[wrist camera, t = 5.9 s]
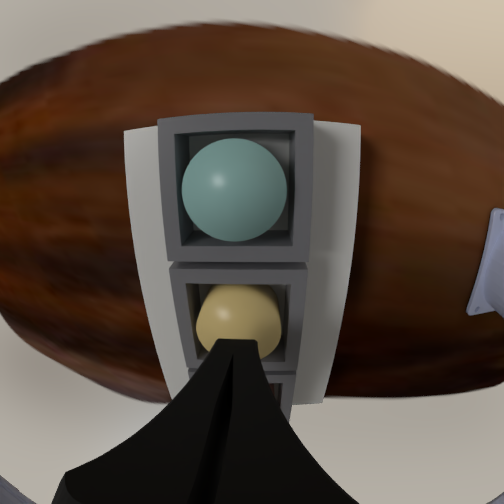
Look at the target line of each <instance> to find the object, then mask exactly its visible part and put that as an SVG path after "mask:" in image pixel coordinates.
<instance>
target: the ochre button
mask: <svg viewBox="0 0 504 504" xmlns="http://www.w3.org/2000/svg"><path fill="white" fill-rule="evenodd" d="M196 331H197V335H198V338H199V340H200V342H201V344H202V345H203V346H204V347H205V348H206V349H207V350H208V351H210V350H211V348H212V346H213V345H214V343H215V341H216V340H217V339H219V338H223V339H255V340H256V341H257V342H258V350H259V355H260V359H262V358H264V357H266V356H267V355H269V354H270V353H271V352H272V351H273V350H274V349H275V348H276V346H277V345H278V343H279V341H280V338H281V322H280V311H279V302H278V298H277V295H276V293H275V292H274V290H273V289H272V288H271V286H270V285H269V284H213V285H212V286H211V287H210V288H209V290H208V292H207V294H206V296H205V299H204V302H203V305H202V308H201V311H200V313H199V316H198V319H197V324H196Z"/></svg>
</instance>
